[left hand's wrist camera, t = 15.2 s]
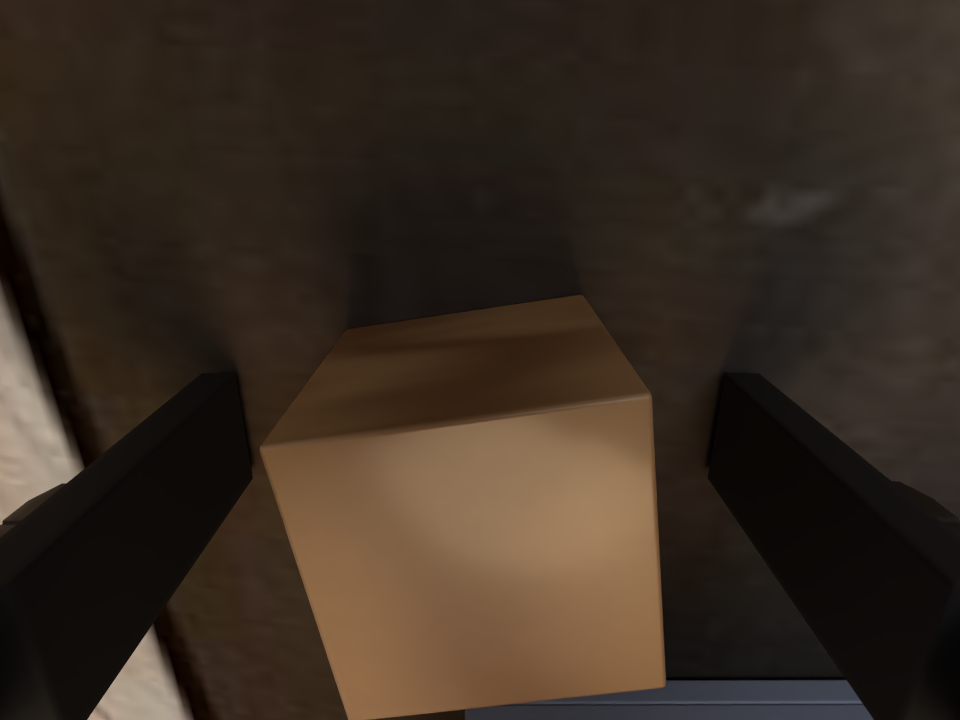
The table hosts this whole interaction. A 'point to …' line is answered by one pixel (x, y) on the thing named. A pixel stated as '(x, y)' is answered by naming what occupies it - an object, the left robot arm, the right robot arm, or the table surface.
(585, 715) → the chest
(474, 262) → the table surface
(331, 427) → the block
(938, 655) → the left robot arm
